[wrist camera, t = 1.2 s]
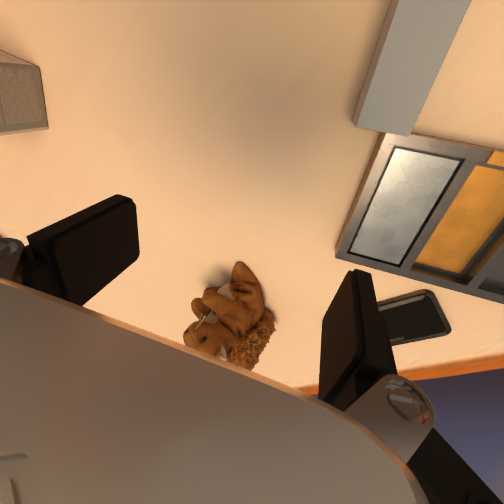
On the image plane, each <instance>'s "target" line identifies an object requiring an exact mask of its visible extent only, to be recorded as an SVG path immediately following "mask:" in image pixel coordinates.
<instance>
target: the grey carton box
mask: <svg viewBox="0 0 504 504" xmlns="http://www.w3.org/2000/svg"><path fill="white" fill-rule="evenodd" d="M44 129H48V123H47V117H46V110H45V103H44V96H43V90H42V83H41V77H40V70H39V68H38V67H37V66H35V65H33V64H30V63H28V62H26V61H23V60H21V59H19V58H17V57H14V56H12V55H10V54H7V53H5V52H2V51H0V135H7V134H14V133H21V132H29V131H36V130H44Z"/></svg>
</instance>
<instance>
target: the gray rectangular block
mask: <svg viewBox="0 0 504 504" xmlns="http://www.w3.org/2000/svg"><path fill="white" fill-rule="evenodd" d="M470 2H471V0H391V3H390V6H389V9H388V12H387V15H386V18H385V21H384V25H383V28H382V31H381V34H380V37H379V40H378V43H377V46H376V49H375V52H374V55H373V58H372V61H371V64H370V67H369V70H368V73H367V76H366V79H365V82H364V85H363V88H362V91H361V94H360V97H359V100H358V103H357V106H356V109H355V112H354V115H353V118H352V122H353V123H354V125H355V126H356V127H359V128H364V129H369V130H374V131H379V132H385V133H390V134H395V135H400V136H405V137H409V135H410V133H411V131H412V129H413V127H414V125H415V122H416V120H417V118H418V116H419V114H420V111H421V109H422V107H423V105H424V103H425V101H426V98H427V96H428V94H429V92H430V90H431V87H432V85H433V83H434V81H435V79H436V77H437V74H438V72H439V70H440V68H441V66H442V63H443V61H444V59H445V57H446V55H447V53H448V50H449V48H450V46H451V44H452V42H453V39H454V37H455V35H456V33H457V31H458V29H459V26H460V24H461V22H462V20H463V18H464V15H465V13H466V11H467V9H468V7H469V5H470Z"/></svg>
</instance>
